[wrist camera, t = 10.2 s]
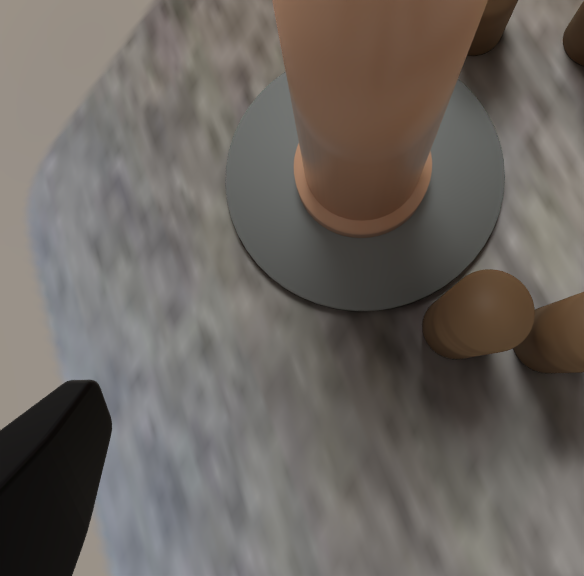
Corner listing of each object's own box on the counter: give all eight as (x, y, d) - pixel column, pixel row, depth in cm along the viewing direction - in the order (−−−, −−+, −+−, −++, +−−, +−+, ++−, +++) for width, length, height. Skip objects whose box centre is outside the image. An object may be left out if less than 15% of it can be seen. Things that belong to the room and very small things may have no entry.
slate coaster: (501, 319, 20) (503, 318, 20) (215, 303, 21) (213, 302, 21) (502, 53, 22) (505, 47, 21) (239, 52, 23) (237, 46, 22)
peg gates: (637, 379, 19) (739, 379, 14) (421, 365, 20) (447, 360, 15) (623, 3, 22) (706, -108, 17) (431, 3, 22) (456, -102, 18)
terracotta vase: (449, 207, 20) (669, -143, 7) (324, 258, 21) (288, 15, 7) (396, 94, 21) (491, -414, 8) (277, 143, 22) (162, -272, 8)
